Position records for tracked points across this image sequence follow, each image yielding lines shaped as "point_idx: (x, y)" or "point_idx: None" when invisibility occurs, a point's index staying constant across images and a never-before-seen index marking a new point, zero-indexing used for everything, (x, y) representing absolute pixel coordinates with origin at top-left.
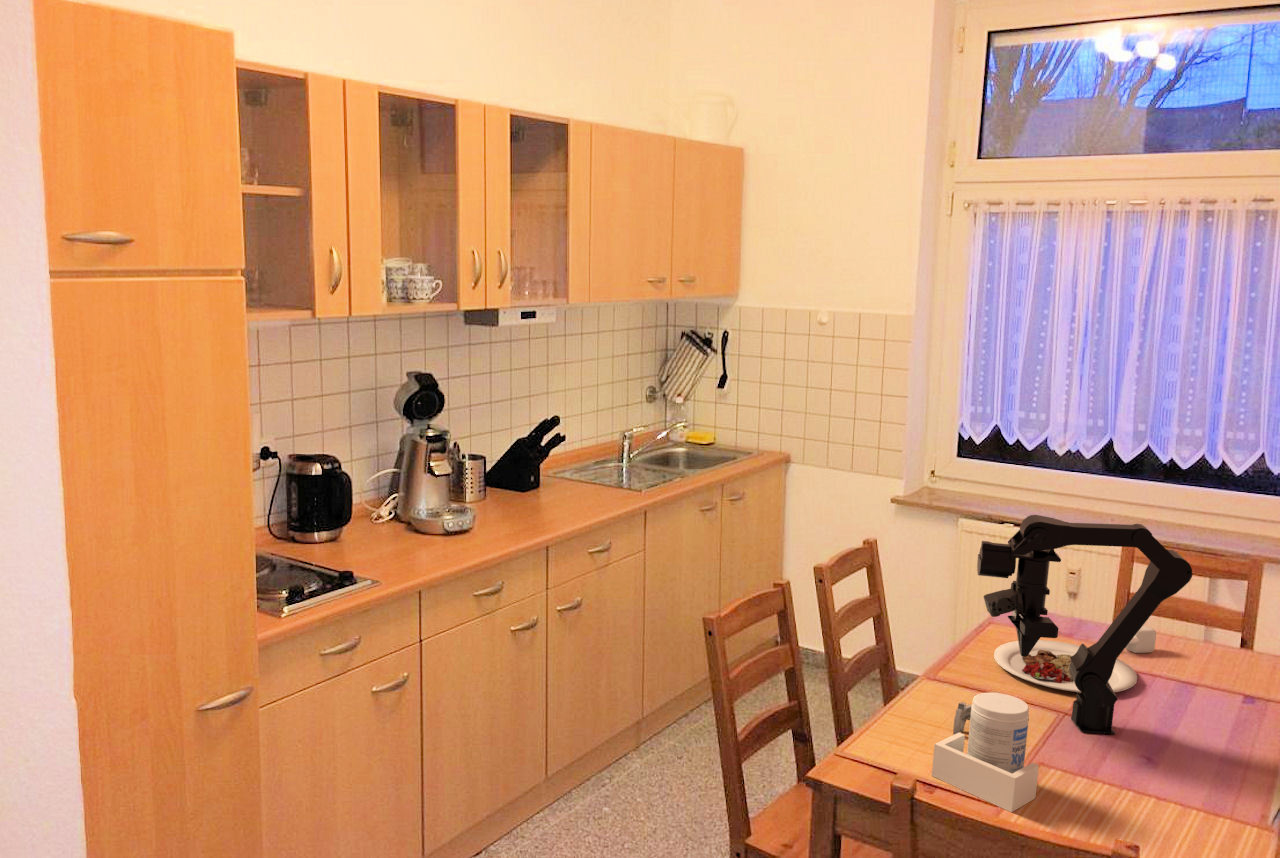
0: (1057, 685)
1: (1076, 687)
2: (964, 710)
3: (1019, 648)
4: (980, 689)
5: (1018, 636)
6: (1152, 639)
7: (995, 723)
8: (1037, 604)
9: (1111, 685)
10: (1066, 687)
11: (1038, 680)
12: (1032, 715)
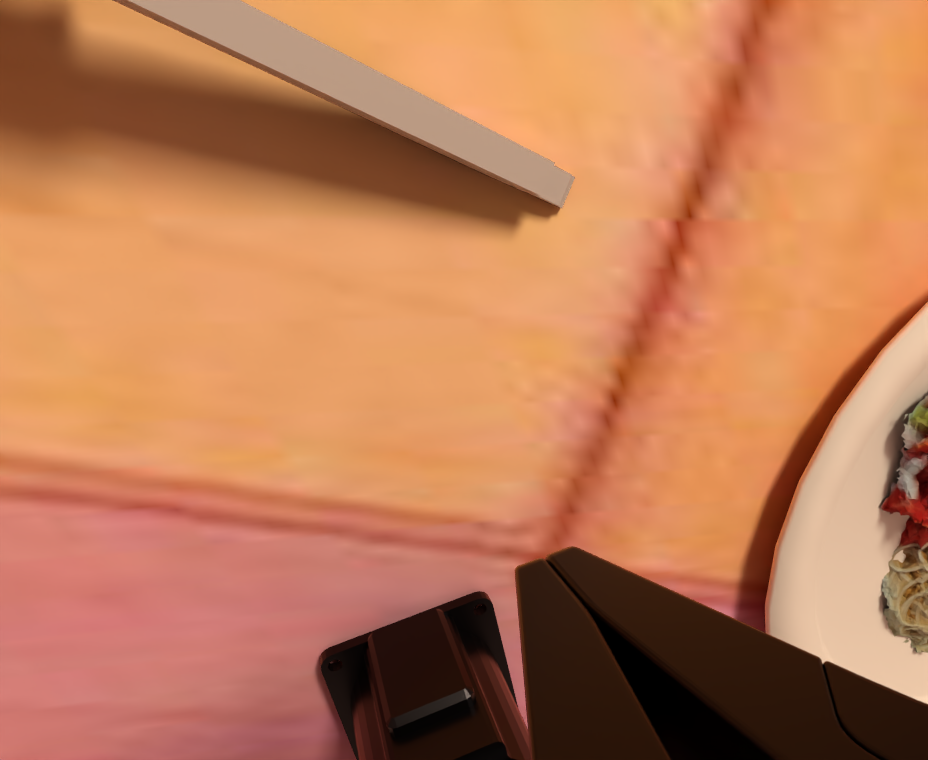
0: (856, 498)
1: (845, 571)
2: None
3: (635, 577)
4: (748, 96)
5: (790, 735)
6: None
7: None
8: None
9: (882, 680)
10: (840, 535)
11: (900, 416)
12: (455, 410)
